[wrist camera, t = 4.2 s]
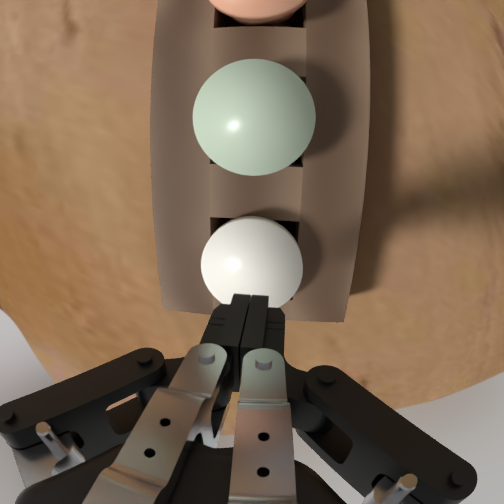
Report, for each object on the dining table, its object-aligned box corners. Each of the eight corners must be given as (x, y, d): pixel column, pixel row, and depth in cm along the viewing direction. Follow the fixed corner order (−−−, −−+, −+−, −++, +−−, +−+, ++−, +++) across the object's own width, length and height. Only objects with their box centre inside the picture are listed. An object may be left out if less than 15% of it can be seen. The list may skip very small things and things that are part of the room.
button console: (351, -25, 12) (360, -45, 10) (336, 299, 21) (343, 322, 19) (179, -25, 13) (165, -43, 11) (176, 288, 22) (163, 309, 19)
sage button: (310, 75, 14) (316, 61, 11) (306, 171, 16) (312, 179, 13) (210, 74, 15) (194, 61, 12) (208, 167, 17) (192, 174, 14)
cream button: (302, 208, 18) (307, 223, 15) (296, 289, 20) (297, 316, 17) (212, 204, 19) (199, 217, 16) (214, 283, 21) (203, 309, 18)
